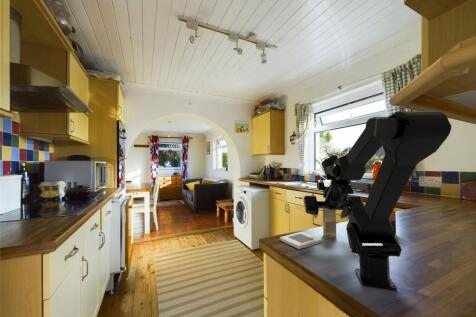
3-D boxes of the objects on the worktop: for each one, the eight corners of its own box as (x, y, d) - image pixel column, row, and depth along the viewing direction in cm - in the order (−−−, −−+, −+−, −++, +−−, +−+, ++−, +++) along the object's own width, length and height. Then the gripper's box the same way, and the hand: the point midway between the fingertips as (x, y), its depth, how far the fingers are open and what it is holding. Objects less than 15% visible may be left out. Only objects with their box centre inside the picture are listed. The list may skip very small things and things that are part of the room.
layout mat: (302, 234, 77) (302, 231, 77) (322, 242, 69) (322, 238, 69) (279, 240, 71) (279, 236, 71) (299, 249, 64) (299, 245, 64)
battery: (375, 235, 74) (375, 208, 75) (383, 231, 78) (382, 205, 79) (390, 239, 71) (389, 210, 71) (396, 234, 75) (395, 207, 75)
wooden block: (336, 238, 72) (335, 204, 72) (326, 238, 72) (325, 204, 73) (333, 235, 75) (332, 202, 76) (323, 234, 76) (322, 202, 76)
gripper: (360, 172, 69) (347, 199, 80) (303, 173, 72) (299, 199, 82) (373, 199, 61) (357, 225, 72) (309, 199, 64) (303, 224, 74)
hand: (328, 217), depth 75 cm, fingers open, 9 cm apart
